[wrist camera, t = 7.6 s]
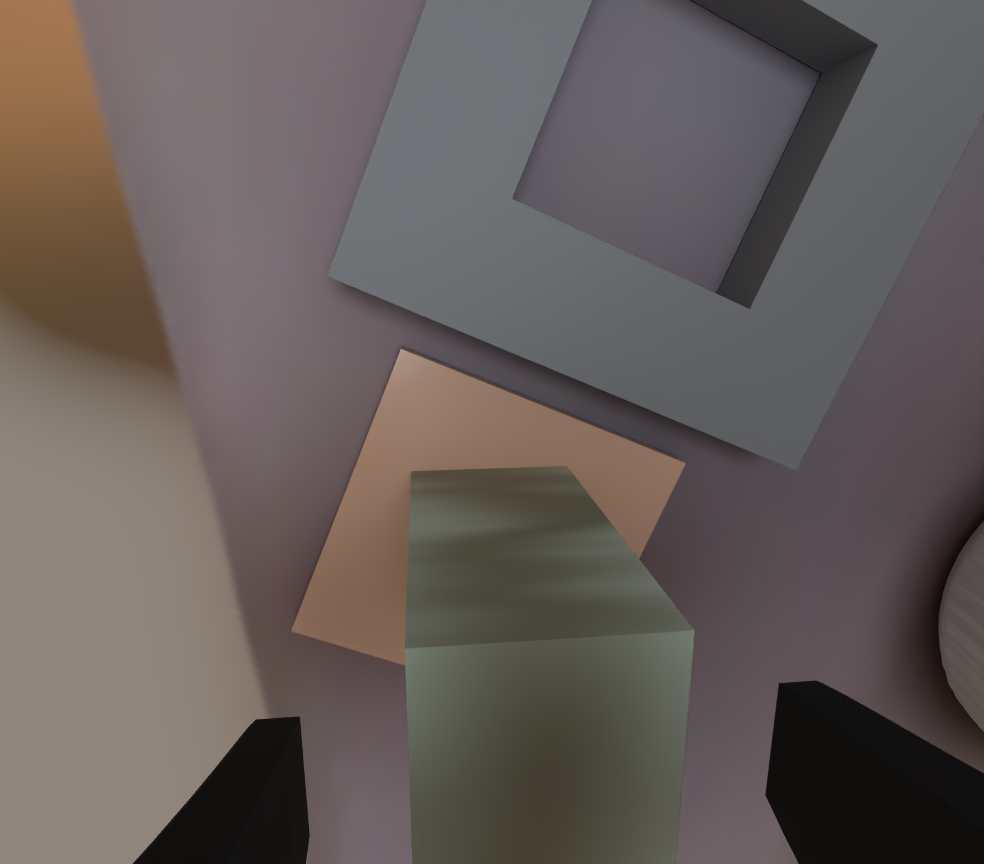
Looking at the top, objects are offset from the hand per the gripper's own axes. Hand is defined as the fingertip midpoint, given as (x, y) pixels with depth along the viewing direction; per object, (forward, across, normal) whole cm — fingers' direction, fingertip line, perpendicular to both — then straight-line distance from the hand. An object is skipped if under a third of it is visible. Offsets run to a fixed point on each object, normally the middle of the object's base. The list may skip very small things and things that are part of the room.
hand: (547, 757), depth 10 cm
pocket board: (+8, -4, -10) cm, 14 cm away
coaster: (+8, 0, 0) cm, 8 cm away
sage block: (+8, 0, 0) cm, 8 cm away
